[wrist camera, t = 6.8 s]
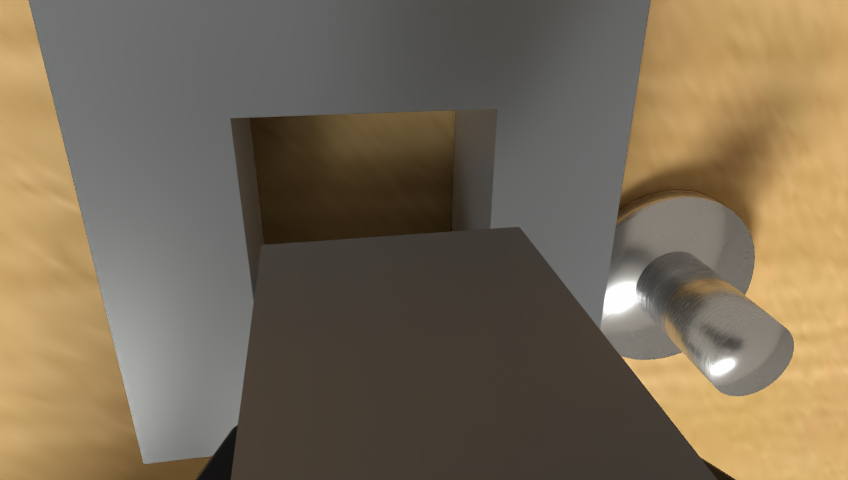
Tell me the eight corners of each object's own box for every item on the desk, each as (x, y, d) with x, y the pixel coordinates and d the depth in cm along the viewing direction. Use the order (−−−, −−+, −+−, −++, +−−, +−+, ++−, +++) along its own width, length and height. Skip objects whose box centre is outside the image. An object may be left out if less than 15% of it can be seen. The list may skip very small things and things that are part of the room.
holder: (539, 333, 21) (587, 410, 18) (172, 368, 19) (143, 464, 16) (579, -54, 16) (658, -54, 13) (85, -58, 14) (13, -59, 11)
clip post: (718, 338, 23) (819, 433, 18) (564, 354, 22) (631, 458, 17) (757, 184, 20) (885, 252, 16) (584, 195, 19) (668, 270, 15)
